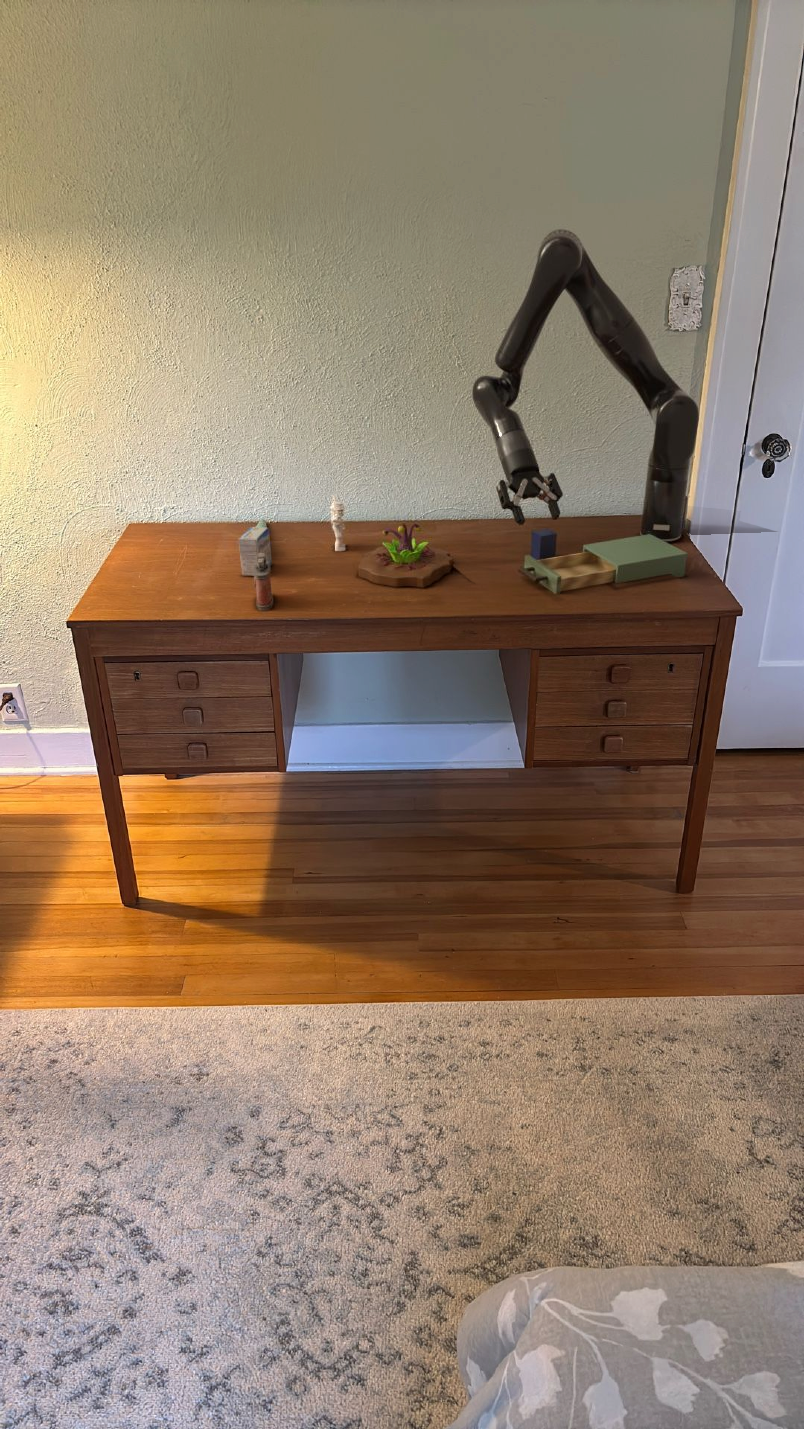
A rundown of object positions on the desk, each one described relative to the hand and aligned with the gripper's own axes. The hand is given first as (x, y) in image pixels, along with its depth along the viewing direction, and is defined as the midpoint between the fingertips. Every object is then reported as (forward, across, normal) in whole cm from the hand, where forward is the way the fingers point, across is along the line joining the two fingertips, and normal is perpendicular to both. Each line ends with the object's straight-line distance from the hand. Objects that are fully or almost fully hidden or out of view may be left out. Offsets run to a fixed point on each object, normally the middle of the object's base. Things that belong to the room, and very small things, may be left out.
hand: (539, 520), depth 215 cm
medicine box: (-8, -59, +21) cm, 63 cm away
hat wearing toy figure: (-12, -38, +25) cm, 47 cm away
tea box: (+8, 0, +5) cm, 10 cm away
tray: (+16, -1, -4) cm, 17 cm away
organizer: (+17, +15, -4) cm, 23 cm away
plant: (+2, -30, +11) cm, 32 cm away
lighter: (+5, -62, +8) cm, 63 cm away
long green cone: (-21, -54, +34) cm, 66 cm away
